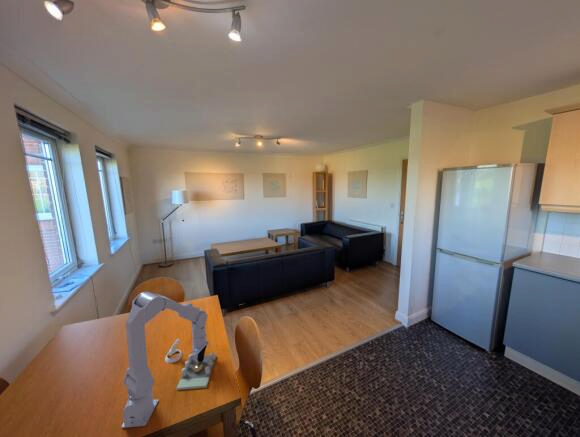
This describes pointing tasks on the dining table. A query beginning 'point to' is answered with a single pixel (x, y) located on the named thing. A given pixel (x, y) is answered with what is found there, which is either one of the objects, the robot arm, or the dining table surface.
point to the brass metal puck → (197, 368)
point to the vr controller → (173, 353)
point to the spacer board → (196, 380)
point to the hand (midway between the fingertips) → (200, 360)
